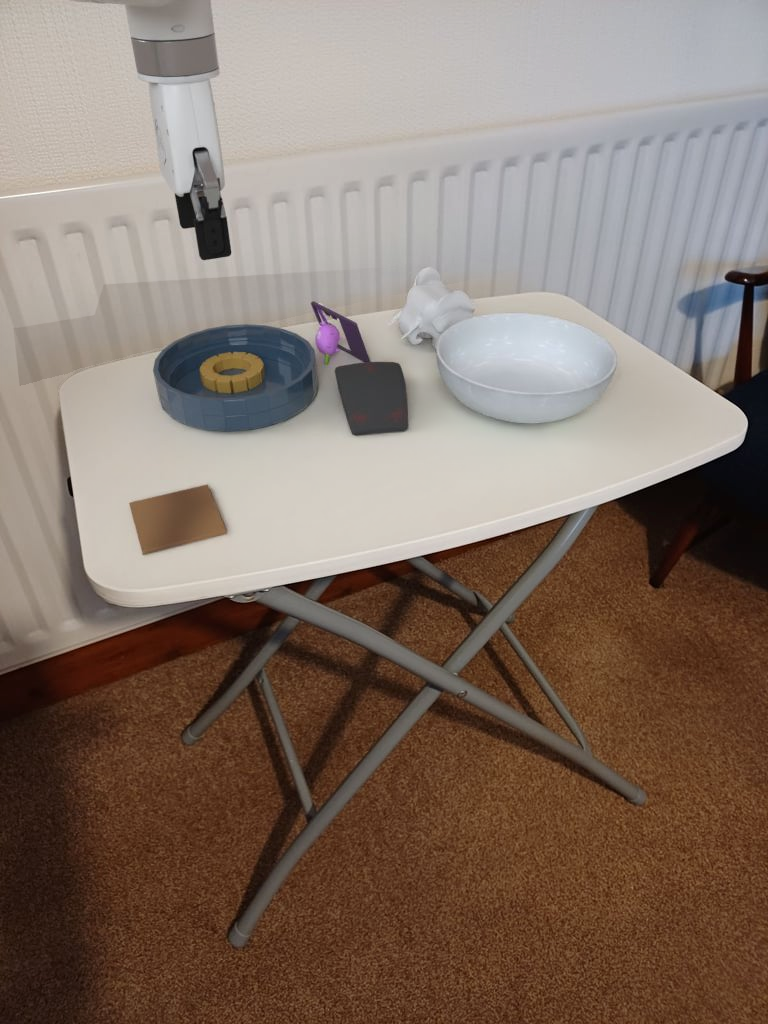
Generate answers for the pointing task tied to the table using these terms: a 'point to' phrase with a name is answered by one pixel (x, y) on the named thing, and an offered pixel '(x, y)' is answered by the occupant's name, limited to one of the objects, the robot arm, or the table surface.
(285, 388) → the bowl
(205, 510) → the coaster
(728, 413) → the table surface
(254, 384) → the ring
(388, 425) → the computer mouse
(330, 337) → the purple piece
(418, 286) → the elephant figurine
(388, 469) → the table surface
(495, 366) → the serving bowl
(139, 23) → the robot arm
